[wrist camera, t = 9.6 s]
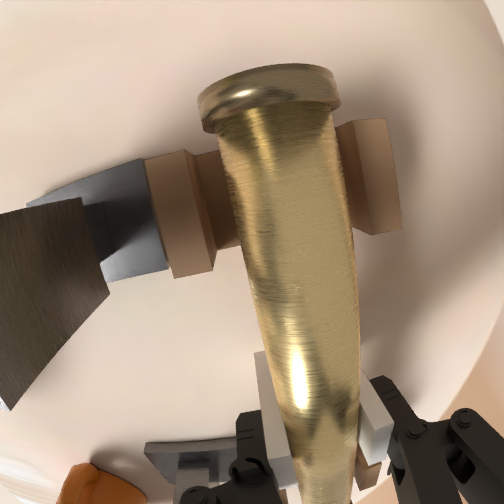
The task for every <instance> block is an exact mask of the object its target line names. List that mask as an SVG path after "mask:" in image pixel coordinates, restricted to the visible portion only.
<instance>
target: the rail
mask: <svg viewBox="0 0 504 504" xmlns="http://www.w3.org/2000/svg"><path fill="white" fill-rule="evenodd" d="M197 101H198V106H199V111H200V116H201V121H202V125H203V130H204V131H205V132H207V133H214V134H216V135H217V139H218V144H219V149H220V153H221V158H222V162H223V167H224V171H225V176H226V181H227V185H228V190H229V194H230V199H231V203H232V208H233V212H234V217H235V221H236V226H237V230H238V235H239V239H240V243H241V248H242V252H243V257H244V261H245V266H246V270H247V274H248V279H249V283H250V287H251V292H252V296H253V300H254V305H255V309H256V313H257V318H258V322H259V326H260V331H261V335H262V339H263V343H264V348H265V352H266V356H267V360H268V365H269V369H270V373H271V377H272V382H273V386H274V390H275V394H276V398H277V402H278V407H279V411H280V415H281V418H282V420H283V422H284V425H285V430H286V434H287V438H288V442H289V446H290V451H291V455H292V459H293V464H294V468H295V473H296V478H297V482H298V488H299V492H300V496H301V500H302V504H352V501H351V499H350V497H351V491H352V484H353V477H354V468H355V460H356V450H357V438H358V424H359V406H360V319H359V299H358V284H357V272H356V261H355V251H354V242H353V233H352V225H351V218H350V210H349V203H348V197H347V191H346V184H345V179H344V173H343V167H342V162H341V157H340V152H339V147H338V142H337V137H336V132H335V128H334V123H333V119H332V115H331V112H332V111H334V110H336V109H337V108H339V107H340V105H341V102H340V98H339V95H338V91H337V87H336V83H335V80H334V76H333V74H332V72H331V71H330V70H328V69H326V68H324V67H321V66H316V65H311V64H299V63H292V64H276V65H269V66H263V67H258V68H253V69H249V70H246V71H242V72H239V73H236V74H233V75H231V76H228V77H226V78H223V79H221V80H219V81H217V82H215V83H214V84H212V85H210V86H209V87H207V88H206V89H205V90H204V91H203V92H202V93H201V94H200V95H199V97H198V99H197Z"/></svg>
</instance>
